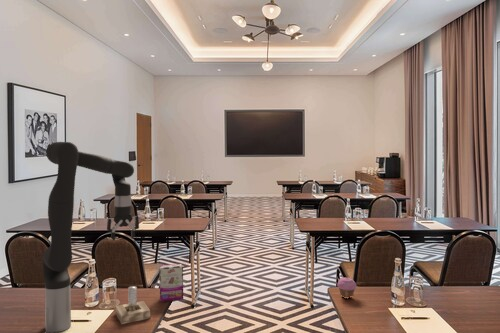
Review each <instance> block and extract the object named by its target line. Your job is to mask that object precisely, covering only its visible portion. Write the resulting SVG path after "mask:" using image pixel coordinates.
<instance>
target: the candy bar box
mask: <svg viewBox="0 0 500 333" xmlns="http://www.w3.org/2000/svg"><path fill="white" fill-rule="evenodd" d="M158 269H159V301H160V302H161V303H162V302H171V301H172V302H173V301H180V300H184V265H183V263H173V264H164V265H163V264H162V265H159V268H158Z"/></svg>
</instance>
